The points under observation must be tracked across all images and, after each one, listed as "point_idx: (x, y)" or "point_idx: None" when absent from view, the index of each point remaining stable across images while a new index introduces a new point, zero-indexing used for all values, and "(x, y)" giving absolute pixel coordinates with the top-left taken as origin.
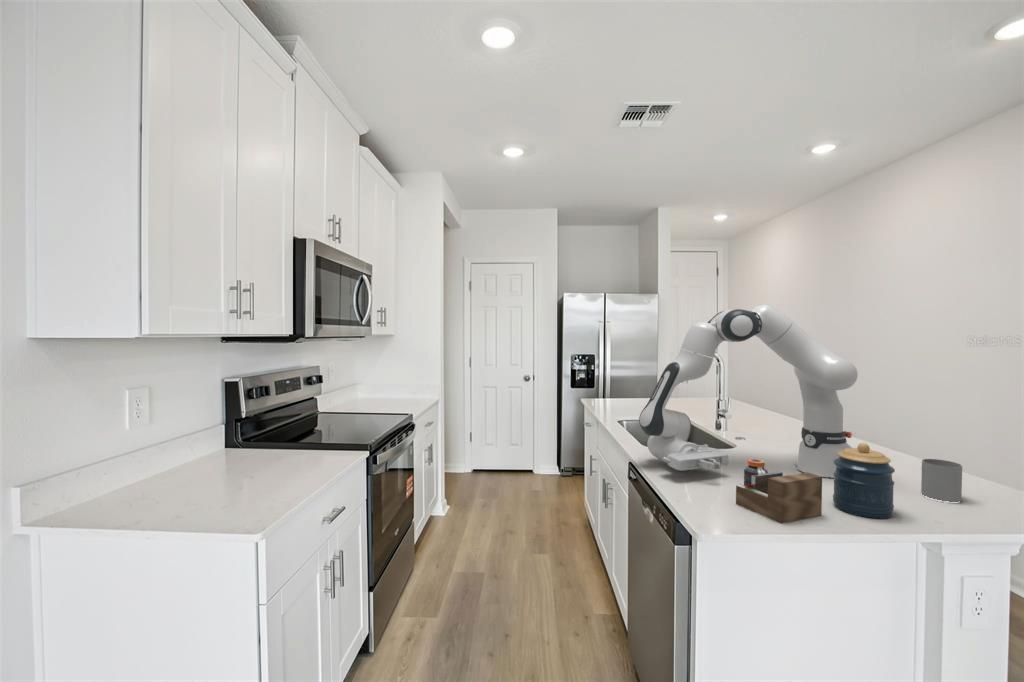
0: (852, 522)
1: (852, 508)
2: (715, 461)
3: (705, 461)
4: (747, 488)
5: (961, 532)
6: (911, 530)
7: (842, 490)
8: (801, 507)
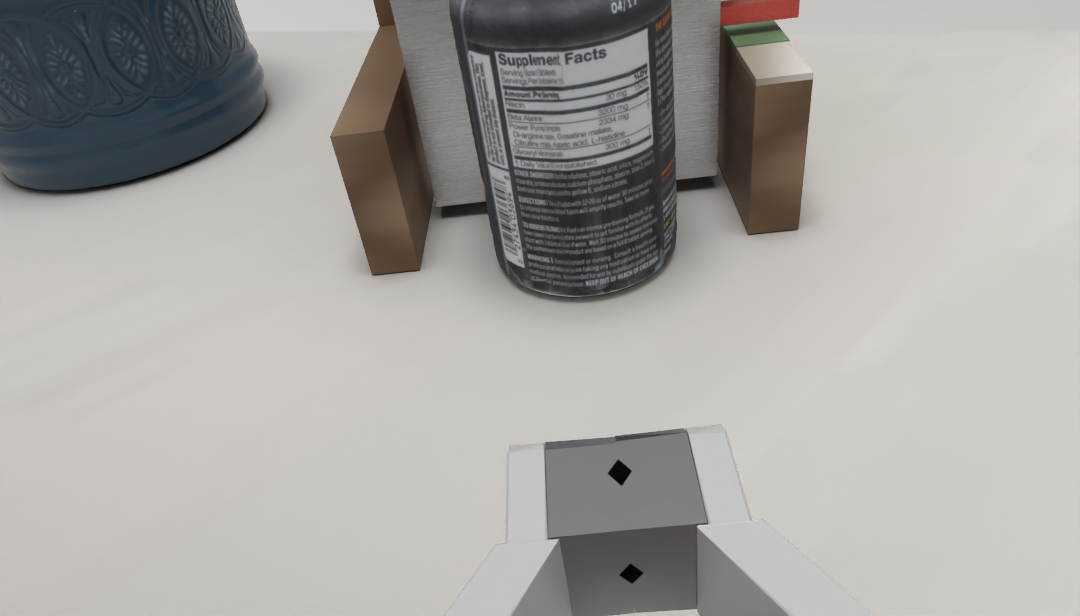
0: None
1: (261, 70)
2: (504, 554)
3: (803, 587)
4: (769, 33)
5: None
6: (261, 38)
7: (215, 8)
8: None
